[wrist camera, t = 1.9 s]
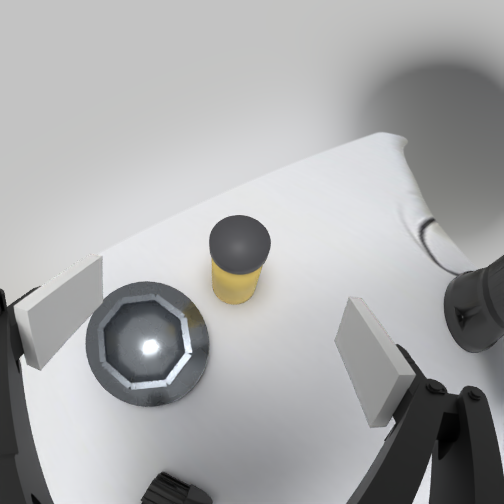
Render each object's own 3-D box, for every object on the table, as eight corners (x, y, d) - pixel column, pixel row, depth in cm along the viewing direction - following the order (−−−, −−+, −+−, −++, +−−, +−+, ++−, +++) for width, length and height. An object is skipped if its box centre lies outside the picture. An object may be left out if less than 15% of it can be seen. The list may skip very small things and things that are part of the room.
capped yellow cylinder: (228, 255, 44) (232, 205, 34) (265, 279, 43) (281, 235, 33) (201, 288, 41) (196, 246, 31) (240, 314, 40) (249, 280, 30)
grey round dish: (142, 268, 42) (136, 256, 38) (233, 334, 39) (235, 327, 35) (73, 352, 35) (61, 347, 31) (162, 430, 32) (157, 433, 28)
